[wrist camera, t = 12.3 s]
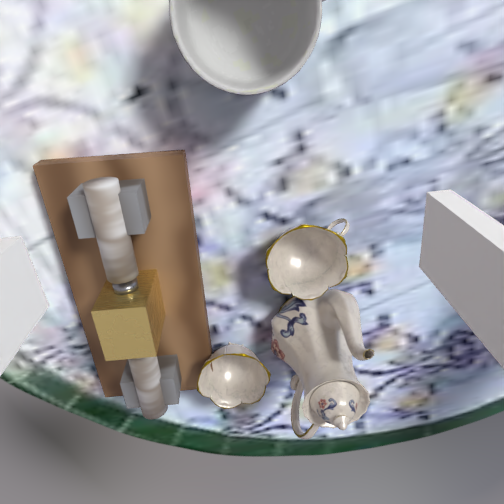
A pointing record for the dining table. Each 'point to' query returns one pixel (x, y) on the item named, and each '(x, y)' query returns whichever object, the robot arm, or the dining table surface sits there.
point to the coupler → (130, 317)
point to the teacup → (246, 40)
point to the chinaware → (302, 335)
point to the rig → (133, 261)
